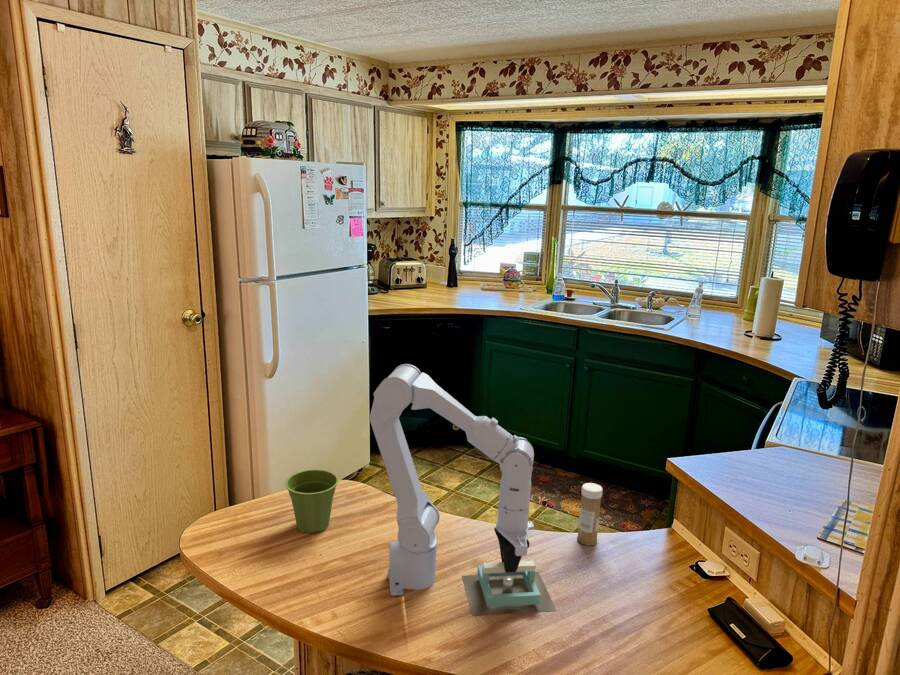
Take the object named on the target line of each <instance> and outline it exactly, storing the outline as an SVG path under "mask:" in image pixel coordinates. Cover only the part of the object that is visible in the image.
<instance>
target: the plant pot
mask: <svg viewBox="0 0 900 675" xmlns="http://www.w3.org/2000/svg"><path fill="white" fill-rule="evenodd" d="M339 481H340V479H339V476H338V475H337V474H336V473H334V472H332V471H330V470H325V469H321V468H320V469H318V468H312V469H304V470H301V471H298V472H294V473H293V474H291V475H290V476H289V477H287V479H286V480H285V481H284V486H285V488H286V489H287V490H288V495H289V497H290V499H291V504H292V508H293V509H292V510H293V514H294V518H295V522H296V527H297V529H298V530H299V531H301V532H303V533H308V534H314V533H316V532H323V531H325V529H327V528H328V527H329V525H330V522H331V513H332V508H333V500H334V495H335V492H336V487H337V486H338V484H339Z"/></svg>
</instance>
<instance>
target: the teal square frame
mask: <svg viewBox="0 0 900 675" xmlns="http://www.w3.org/2000/svg"><path fill="white" fill-rule="evenodd" d="M535 572H536V564H535V561H534V560H524V561H523V560H520V562H519V565H518V568H517V571H516V572H507V573H506V572H505V568H504V562H502V561H498V562H497V561H496V562H483V563H482V564H481V565H477V574H476V575H478V578H479V582H480V585H481V588H482V591H483V595H484V598H485V601H486V604H487V607H502V606H520V605H537V604H540V593H539V590H538V588H537V586H536V584H535V581H534V579H535ZM517 575H522V576H523V578H524V581H525V583H526V586H527V588H528V590H529V592H523V593H505V594H492V592H491V589H490V586H489V577H497V576H517Z"/></svg>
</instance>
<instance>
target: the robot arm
mask: <svg viewBox="0 0 900 675" xmlns="http://www.w3.org/2000/svg"><path fill="white" fill-rule="evenodd" d="M373 397H374V398H373V402H372V407H371V410H370V413H369V414H370V415H369V421H370V422H369V423H370V425H371V428H372V431H373V433H374V437H375V440H376V443H377V446H378V449H379V452H380V455H381V458H382V460H383V464H384V467H385V469H386V472H387V476H388V479H389V482H390V485H391V488H392V491H393V493H394V497H395V499H396V500H395V501H396V502H397V508H396V522H397V527H398V532H397V540H395V541H390V542H389V550H388V551H389V554H388V555H389V557H388V569H387V579H389V580H388V581H389V582H388V583H389V592H390V595H391V596H392V597H393V596H394V597H395V596H405V592H404V589H407V590H414V591H415V590H416V591H419V590H426V589H428V588H430V587H432V586H433V584H434V583H435V581H436V575H437V574H436V570H437V553H438V552H437V550H438V549H437V548H438V539H437V536H436V534H435V529H436V527H437V526H438V524H439V522H440V517H441V516H440V512H439V510H438V508H437V507H436V506H435V505H434V504H433V503H432V501H431V498H430V496H429V494H428V493H426V492H424V491H423V489H422V486H421V482H420V479H419V476H418V473H417V470H416V469H417V468H416V467H415V464H414V460H413V457H412V454H411V451H410V449H409V444H408V442H407V439H406V435H405V433H404V430H403V427H402V424H401V421H400V416H401V415H402V412H403V411H404V410H405V409H406V408H407V407H408V406H409V405H410V404H412V406H411V408H410V409H411V410H412V411H414V410H415V411H416V410H423V409H425V410H426V409H431V410H432V411H434V412H435V413H436V414H438V415H439V416H441V417H442V418H445V419H446V420H447V421H448V422H450V423H451V424H453V425H455V426H456V427H458V428H459V429H461V430H462V431H463V432H464V433H465V434H466V440H467V442H468V443H470V444H471V445H472V446H474V447H475V448H476V449H478V450H479V451H480V452H481V453H483V455H486V456H487V457H489V459H491V460H492V461H494V462H495V463H497V464H499V469H500V471H501V473H502V474H501V478H500V481H499V482H500V484H499V497H498V498H499V499H498V510H497V518H496V519H497V520H496V522H495V523H496V525H495V527H494V533H495V535H496V537H497V540H498V544H499V551H500V560H501V562H504V568H505V572H506V573H507V572H516V571H517V568H518V565H519V562H520V561H522V557H525V556H527V555H528V549H529V547H530V541H529V540H528V534H529V531H533V530H534V528H535V526H534V523H533V522H532V521H529V517H530V516H529V515H530V503H531V490H532V472H533V471H534V467H533V464H534V460H535V459H534V457H535V452H534V447H533V446H532V444H531V442H530V441H528V439H527V438H525V437H522V436H517V435H516V434H514V435H512V434H511V433H510V432H508V431H507V430H506V429H504V428H503V427H502V426H501V425H499V424H498V423H499V421H498V420H497V419H496V418H495V417H492V418H489V417H488V416H487V415H479V416H478V415H475V414H474V413H472V412H471V411H470V410H469V409H468V408H466V407H465V406H464V405H463V404H461V403H460V402H459V401H458V400H457V399H455V397H453V396H452V395H451V394H450V393H448V392H447V391H445V390H444V389H443V388H442V387H441V386H440V385H438V384H437V383H436V382H435V381H434V379H432V377H431V376H430V375H428V374H427V373H425V372H421V371H420V369H419V368H418V367H417V366H415V365H413V364H410V363H404V364H400V365H398V366H396V367H395V369H394V370H393V371H392V372H391V373H390V374H389V375H388V377H386V378H384V379H383V380H382V381H381V382H380V384H379V385H378V386H377V387H376V389H375V391H374V392H373Z"/></svg>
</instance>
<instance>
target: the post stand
mask: <svg viewBox="0 0 900 675" xmlns="http://www.w3.org/2000/svg"><path fill="white" fill-rule="evenodd" d="M461 578H462V582H463V586H464V590H465V593H466V597H467V601H468V604H469V608H470V612H471V616H472V617H477V616H478V617H479V616H481V617H482V616H497V615H510V614H511V615H513V614H527V613H542V612H543V613H544V612H545V613H546V612H557V608H556V607H555V604H554V602H553V600H552V598H551V595H550V592H549V591H548V589H547V587H546V584H545V583H544V580H543V579H542V576H541V574H540V572H539V571H535V579H534V581H535V584H536V586H537V588H538V590H539V593H540V604H537V605H520V606H502V607H487V604H486V601H485V598H484V595H483V591H482V588H481V585H480V582H479V578H478V575H477V574H472V575H469V574H468V575H461ZM489 586H490V589H491V592H492V594H505V593H523V592H529V590H528V588H527V586H526V583H525V581H524V578H523V576H522V575H517V576H497V577H489Z"/></svg>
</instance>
